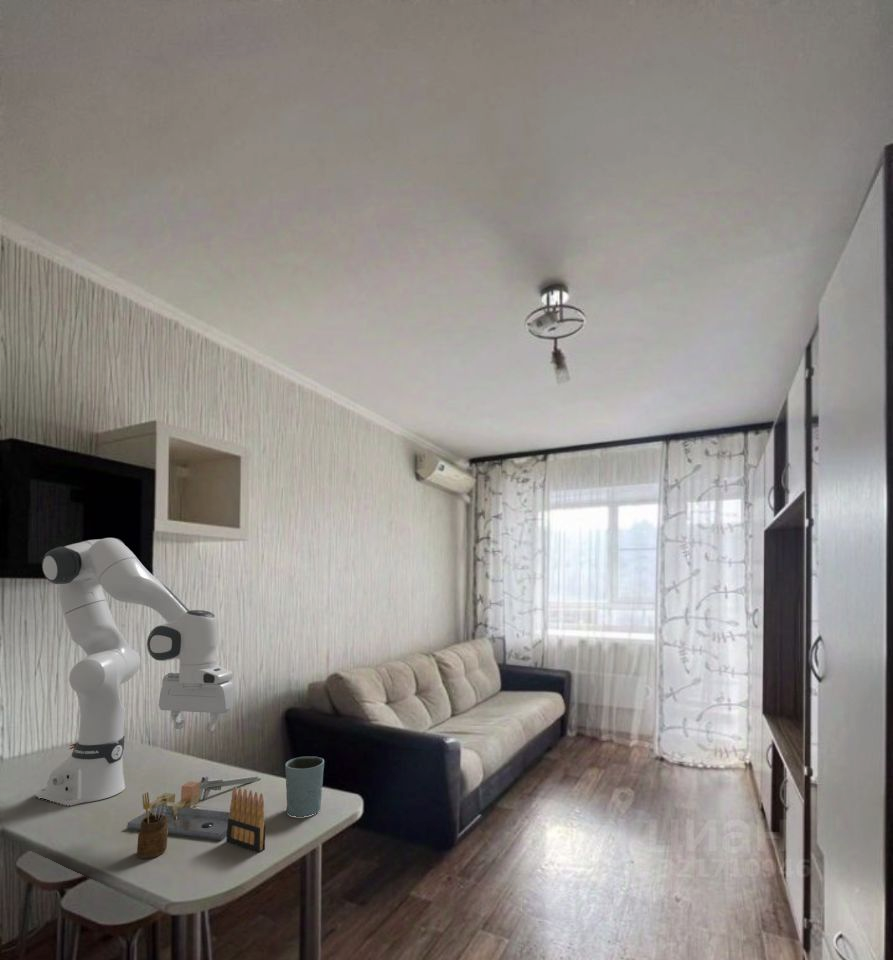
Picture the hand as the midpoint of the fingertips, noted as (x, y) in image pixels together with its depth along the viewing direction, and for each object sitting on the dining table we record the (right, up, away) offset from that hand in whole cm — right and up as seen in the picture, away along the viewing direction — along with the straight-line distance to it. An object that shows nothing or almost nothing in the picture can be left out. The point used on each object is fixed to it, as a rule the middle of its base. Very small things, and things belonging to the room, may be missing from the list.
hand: (194, 729), depth 144 cm
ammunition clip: (+19, -19, -17) cm, 32 cm away
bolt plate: (+1, -21, -7) cm, 22 cm away
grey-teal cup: (+28, -22, +1) cm, 36 cm away
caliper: (+3, -25, +15) cm, 29 cm away
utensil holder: (-1, -19, -20) cm, 27 cm away
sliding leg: (0, -19, -5) cm, 20 cm away
